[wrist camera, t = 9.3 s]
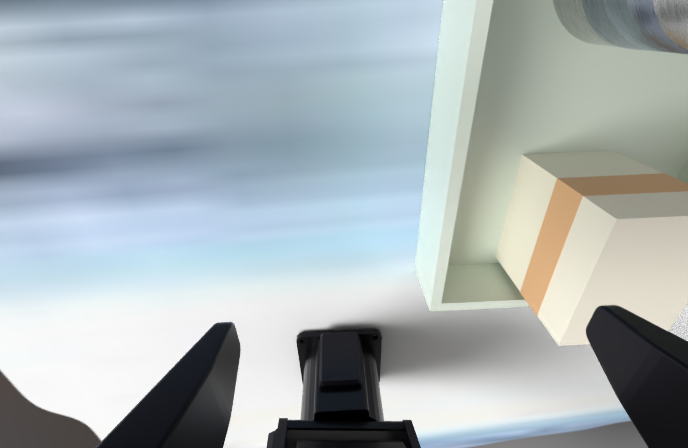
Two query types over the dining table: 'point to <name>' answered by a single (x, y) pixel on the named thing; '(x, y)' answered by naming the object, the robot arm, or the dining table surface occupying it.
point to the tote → (527, 131)
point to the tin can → (628, 23)
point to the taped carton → (596, 240)
